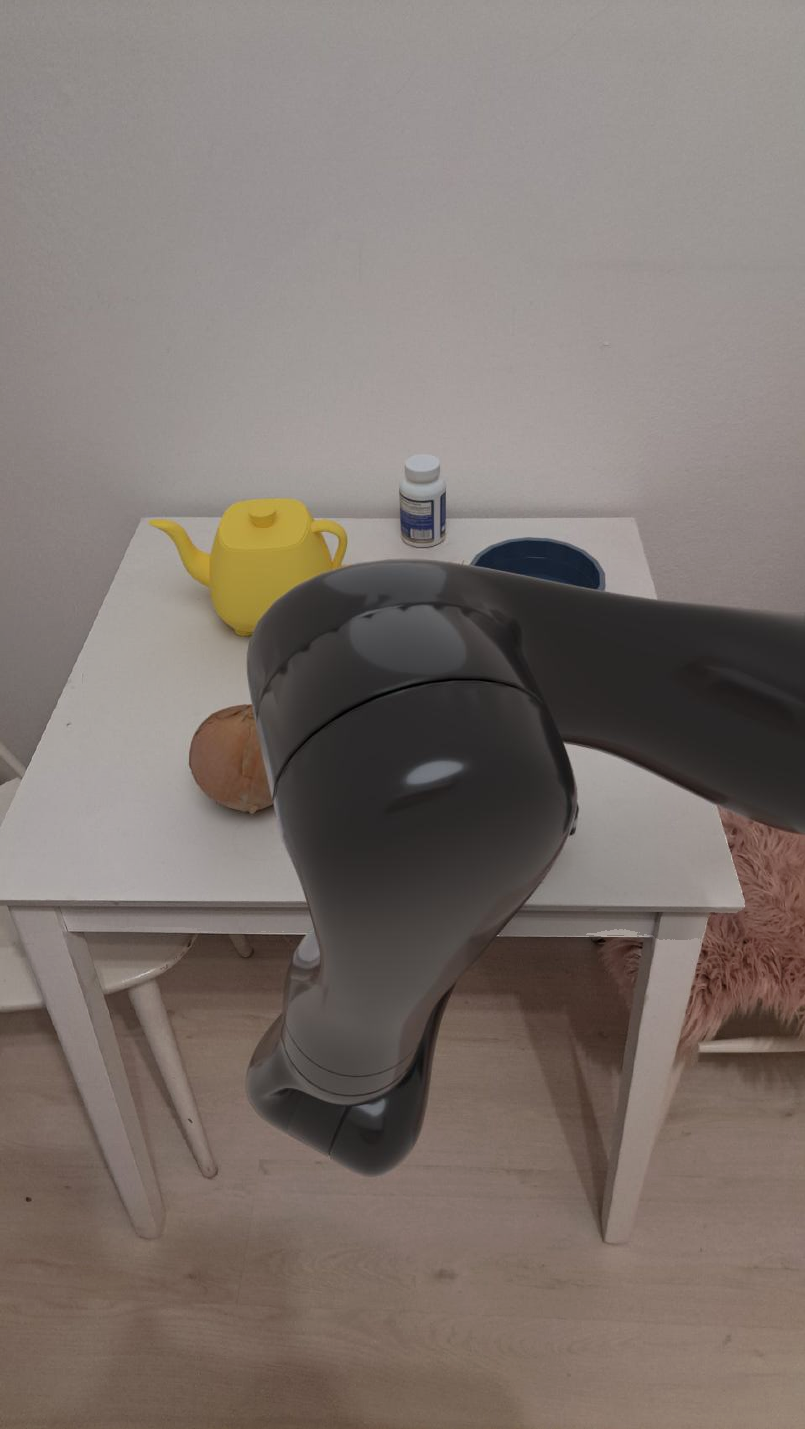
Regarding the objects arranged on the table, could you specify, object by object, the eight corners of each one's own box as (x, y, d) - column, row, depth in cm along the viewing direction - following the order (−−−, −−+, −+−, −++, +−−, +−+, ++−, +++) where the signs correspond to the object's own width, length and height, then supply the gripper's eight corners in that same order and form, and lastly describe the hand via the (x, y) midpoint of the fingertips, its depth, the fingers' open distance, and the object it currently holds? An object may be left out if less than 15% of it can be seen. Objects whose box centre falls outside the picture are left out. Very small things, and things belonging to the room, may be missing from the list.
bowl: (615, 593, 102) (621, 554, 98) (575, 671, 93) (581, 632, 89) (494, 563, 106) (496, 526, 103) (445, 635, 97) (445, 596, 94)
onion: (284, 786, 87) (313, 693, 82) (286, 845, 78) (318, 745, 74) (182, 765, 84) (207, 668, 80) (173, 824, 76) (200, 719, 72)
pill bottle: (425, 519, 114) (424, 446, 107) (454, 537, 111) (456, 463, 104) (391, 535, 111) (388, 461, 104) (420, 554, 108) (419, 479, 101)
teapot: (356, 644, 97) (348, 541, 88) (163, 655, 96) (136, 552, 87) (354, 568, 106) (346, 468, 98) (179, 577, 106) (156, 478, 97)
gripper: (550, 875, 59) (625, 705, 70) (359, 808, 64) (457, 659, 75) (542, 940, 64) (612, 773, 76) (365, 874, 69) (456, 725, 80)
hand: (534, 717), depth 75 cm, fingers closed
